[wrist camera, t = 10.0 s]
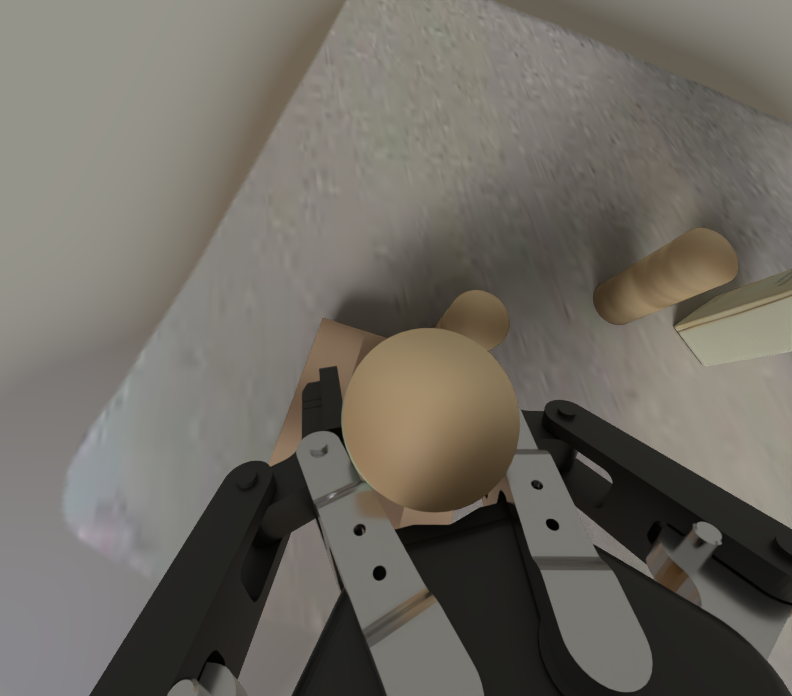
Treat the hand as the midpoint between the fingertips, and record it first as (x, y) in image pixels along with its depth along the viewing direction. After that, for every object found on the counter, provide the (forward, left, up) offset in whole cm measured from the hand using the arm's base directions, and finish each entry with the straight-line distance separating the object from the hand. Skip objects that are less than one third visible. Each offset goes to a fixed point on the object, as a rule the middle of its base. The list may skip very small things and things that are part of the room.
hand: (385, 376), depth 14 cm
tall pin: (+2, +1, -6) cm, 6 cm away
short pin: (-6, +5, -11) cm, 13 cm away
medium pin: (-14, +18, -11) cm, 25 cm away
